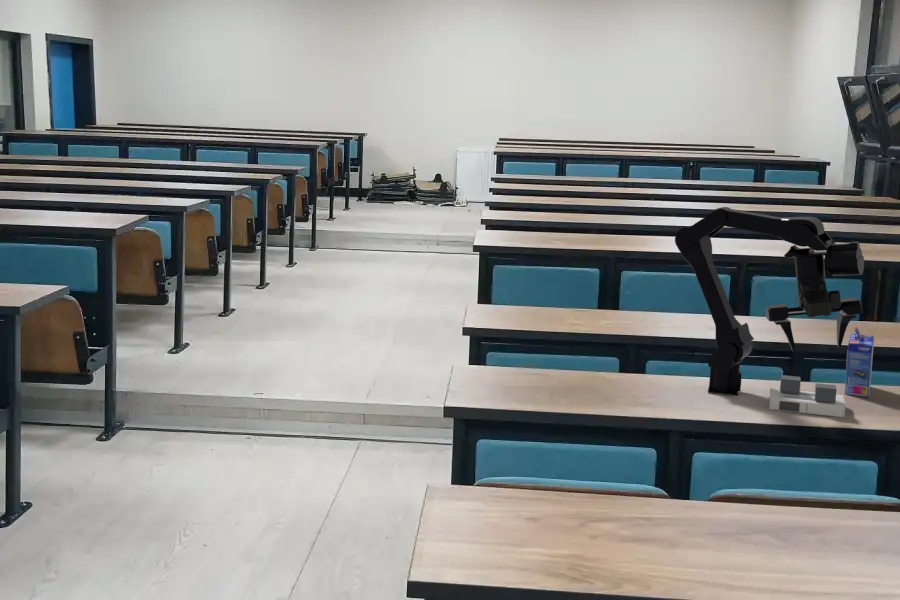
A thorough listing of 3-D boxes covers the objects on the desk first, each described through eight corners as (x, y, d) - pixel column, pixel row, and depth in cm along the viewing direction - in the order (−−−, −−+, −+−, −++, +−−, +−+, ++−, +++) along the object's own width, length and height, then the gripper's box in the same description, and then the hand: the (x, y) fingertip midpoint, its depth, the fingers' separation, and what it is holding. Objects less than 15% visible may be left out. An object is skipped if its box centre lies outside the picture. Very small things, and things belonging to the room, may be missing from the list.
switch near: (814, 400, 201) (816, 387, 200) (814, 396, 204) (815, 383, 203) (835, 402, 200) (836, 389, 199) (834, 398, 202) (835, 385, 202)
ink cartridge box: (844, 383, 224) (851, 323, 221) (870, 386, 221) (877, 325, 218) (842, 394, 215) (849, 332, 212) (869, 397, 213) (876, 335, 210)
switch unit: (769, 409, 203) (770, 398, 203) (769, 398, 211) (770, 387, 210) (844, 418, 199) (845, 406, 198) (841, 406, 206) (843, 394, 206)
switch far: (779, 392, 206) (781, 378, 206) (779, 388, 209) (781, 375, 209) (799, 394, 205) (800, 380, 205) (799, 390, 208) (800, 376, 207)
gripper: (769, 285, 195) (775, 360, 196) (866, 276, 191) (871, 352, 192) (762, 279, 205) (768, 350, 207) (854, 271, 202) (859, 343, 203)
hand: (816, 349), depth 202 cm, fingers open, 9 cm apart
